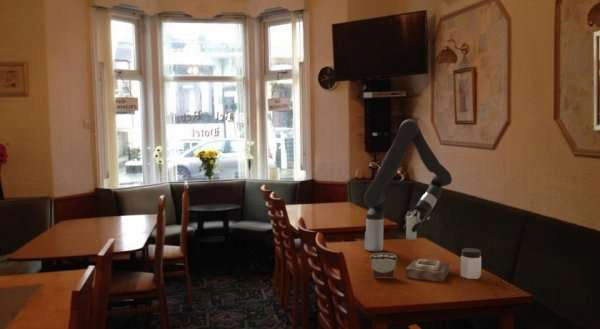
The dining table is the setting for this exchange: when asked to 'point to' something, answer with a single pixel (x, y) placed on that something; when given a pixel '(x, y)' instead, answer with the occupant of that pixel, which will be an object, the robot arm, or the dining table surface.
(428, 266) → the display plinth
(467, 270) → the jar
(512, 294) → the dining table surface
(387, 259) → the food container
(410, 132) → the robot arm
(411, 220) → the sage cylinder
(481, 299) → the dining table surface
